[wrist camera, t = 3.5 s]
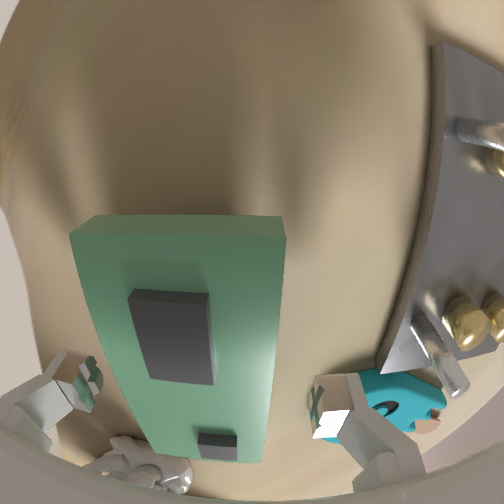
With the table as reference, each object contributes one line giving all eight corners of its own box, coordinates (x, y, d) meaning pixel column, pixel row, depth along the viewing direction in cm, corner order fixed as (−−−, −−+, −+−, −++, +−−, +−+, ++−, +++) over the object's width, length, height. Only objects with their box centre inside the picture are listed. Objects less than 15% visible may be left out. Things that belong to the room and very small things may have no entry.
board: (261, 439, 13) (261, 473, 11) (160, 430, 13) (152, 461, 11) (281, 216, 8) (288, 249, 6) (95, 215, 8) (56, 242, 6)
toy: (408, 455, 18) (289, 435, 15) (403, 439, 20) (287, 411, 17) (469, 412, 16) (377, 373, 12) (461, 396, 17) (367, 347, 14)
